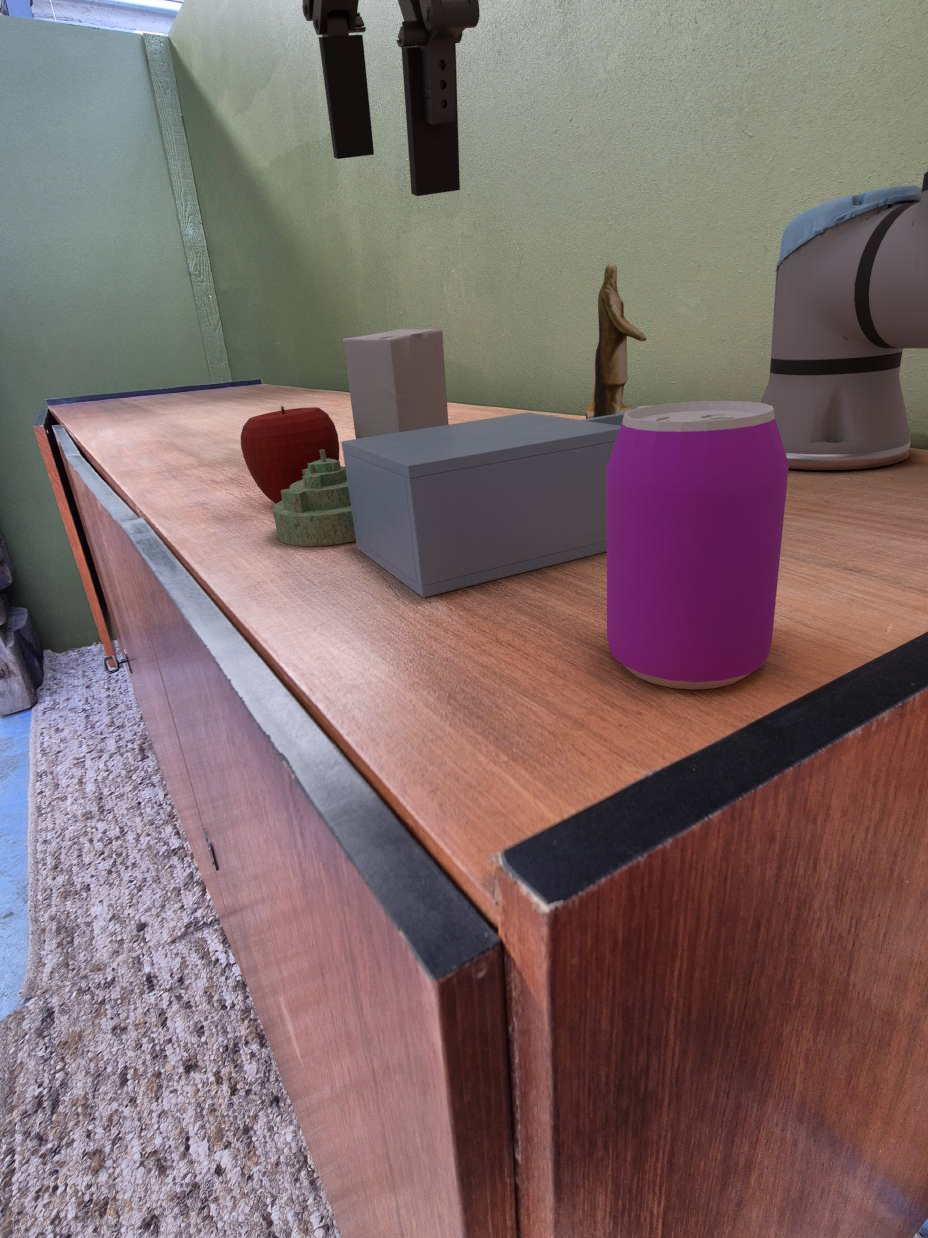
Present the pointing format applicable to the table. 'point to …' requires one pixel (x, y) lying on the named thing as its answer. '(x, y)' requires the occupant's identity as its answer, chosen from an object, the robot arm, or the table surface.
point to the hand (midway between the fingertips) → (390, 172)
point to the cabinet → (480, 498)
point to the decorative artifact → (316, 507)
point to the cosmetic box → (396, 381)
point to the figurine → (611, 350)
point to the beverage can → (694, 541)
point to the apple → (286, 446)
